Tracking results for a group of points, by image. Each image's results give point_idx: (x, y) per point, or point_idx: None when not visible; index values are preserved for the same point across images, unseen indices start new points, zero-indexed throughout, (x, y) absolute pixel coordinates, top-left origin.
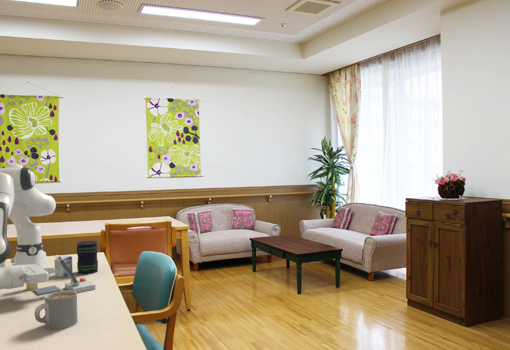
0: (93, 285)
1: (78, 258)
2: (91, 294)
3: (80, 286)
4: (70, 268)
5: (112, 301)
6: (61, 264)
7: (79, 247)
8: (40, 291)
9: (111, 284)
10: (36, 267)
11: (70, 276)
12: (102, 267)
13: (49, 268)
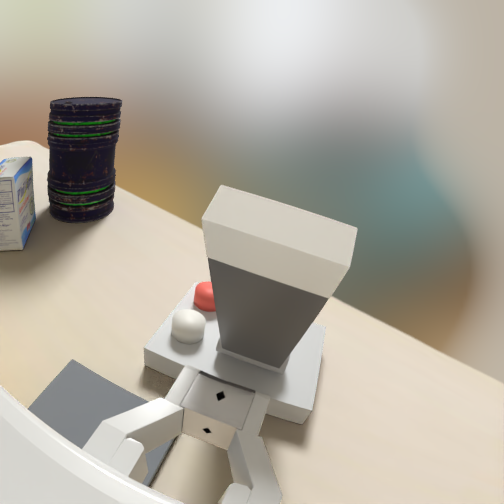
0: (324, 334)
1: (59, 163)
2: (381, 393)
3: (298, 369)
4: (31, 204)
5: (494, 396)
6: (274, 303)
7: (69, 118)
8: None
9: None
10: (39, 485)
11: (285, 354)
12: None
13: (180, 400)
